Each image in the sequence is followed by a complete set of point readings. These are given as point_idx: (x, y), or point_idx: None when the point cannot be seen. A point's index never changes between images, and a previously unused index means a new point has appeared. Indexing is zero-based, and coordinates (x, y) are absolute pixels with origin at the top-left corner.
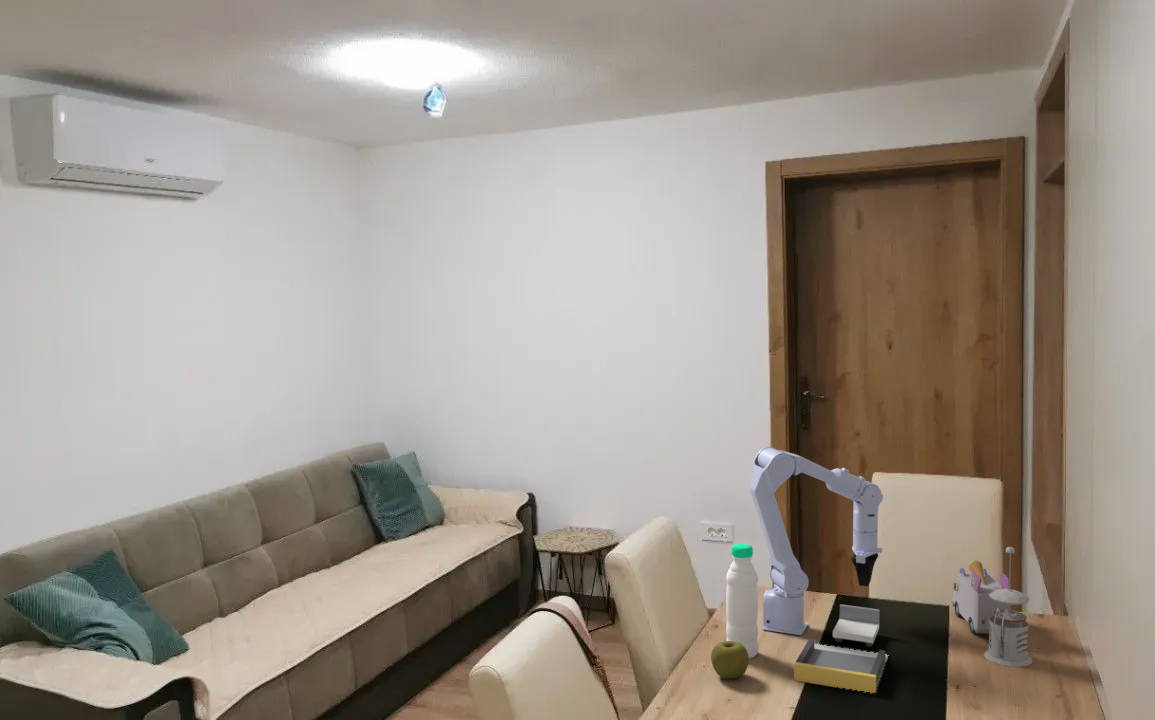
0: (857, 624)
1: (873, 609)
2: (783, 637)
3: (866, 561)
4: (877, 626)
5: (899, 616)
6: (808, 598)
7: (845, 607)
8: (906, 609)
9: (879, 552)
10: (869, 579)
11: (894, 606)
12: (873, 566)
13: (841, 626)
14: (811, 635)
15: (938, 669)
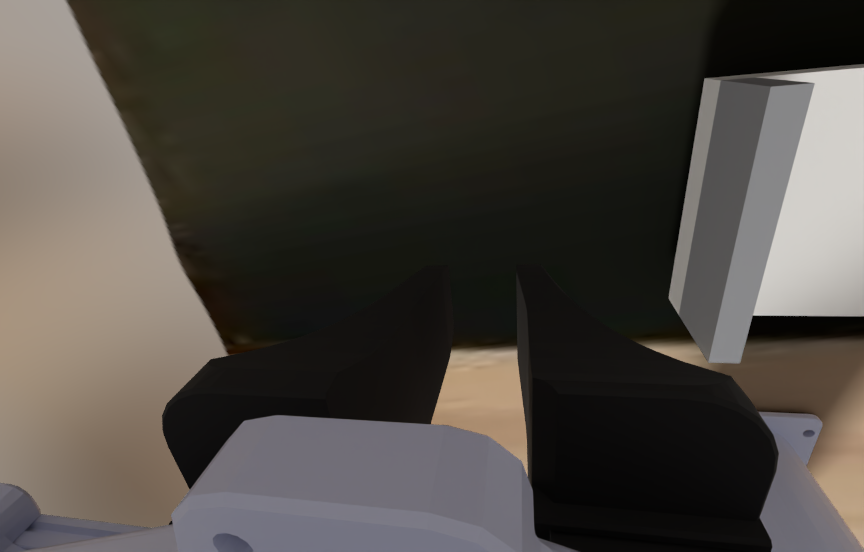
0: (797, 208)
1: (783, 135)
2: (846, 464)
3: (753, 526)
4: (815, 72)
5: (321, 34)
6: None
7: (744, 326)
8: (191, 24)
9: (526, 492)
10: (555, 285)
11: (192, 100)
12: (369, 324)
13: (862, 286)
14: (792, 378)
15: None
